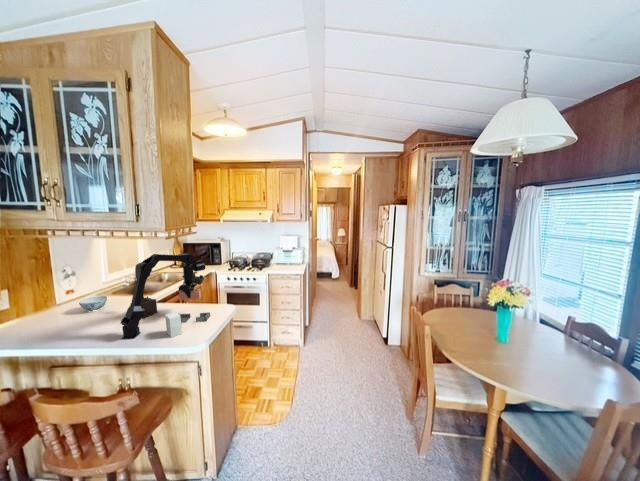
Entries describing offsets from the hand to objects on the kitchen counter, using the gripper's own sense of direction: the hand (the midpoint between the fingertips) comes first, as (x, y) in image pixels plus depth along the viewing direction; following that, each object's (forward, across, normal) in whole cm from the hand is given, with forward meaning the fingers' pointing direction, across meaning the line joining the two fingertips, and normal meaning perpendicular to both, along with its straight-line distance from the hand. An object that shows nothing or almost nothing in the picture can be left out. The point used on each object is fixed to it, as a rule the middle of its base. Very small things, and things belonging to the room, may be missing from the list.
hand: (190, 297), depth 173 cm
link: (+1, 0, 0) cm, 1 cm away
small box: (+12, -26, 0) cm, 29 cm away
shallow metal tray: (+12, -8, -4) cm, 15 cm away
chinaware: (+12, +19, +71) cm, 75 cm away
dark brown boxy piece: (+12, +6, +33) cm, 36 cm away
